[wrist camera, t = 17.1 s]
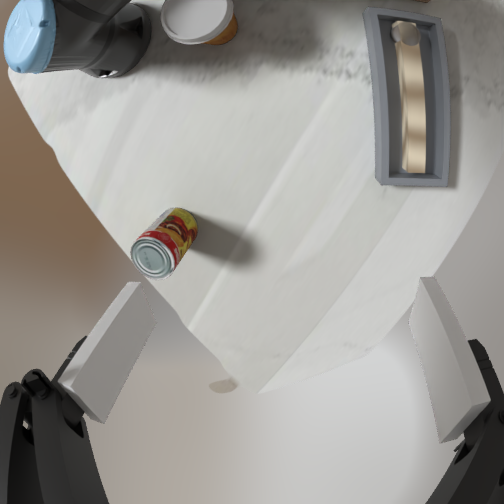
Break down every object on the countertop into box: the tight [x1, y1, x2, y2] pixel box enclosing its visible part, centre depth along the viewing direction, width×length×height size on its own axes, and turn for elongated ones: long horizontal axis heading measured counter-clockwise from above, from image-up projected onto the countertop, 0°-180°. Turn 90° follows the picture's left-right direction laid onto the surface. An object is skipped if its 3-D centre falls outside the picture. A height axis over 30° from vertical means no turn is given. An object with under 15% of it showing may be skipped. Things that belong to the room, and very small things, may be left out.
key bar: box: [390, 21, 426, 173], centre depth 34 cm, size 24×4×3 cm, turn 8°
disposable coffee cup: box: [160, 0, 238, 45], centre depth 30 cm, size 10×10×12 cm
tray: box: [363, 7, 451, 187], centre depth 34 cm, size 28×12×4 cm, turn 7°
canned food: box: [130, 208, 198, 280], centre depth 49 cm, size 8×8×12 cm
